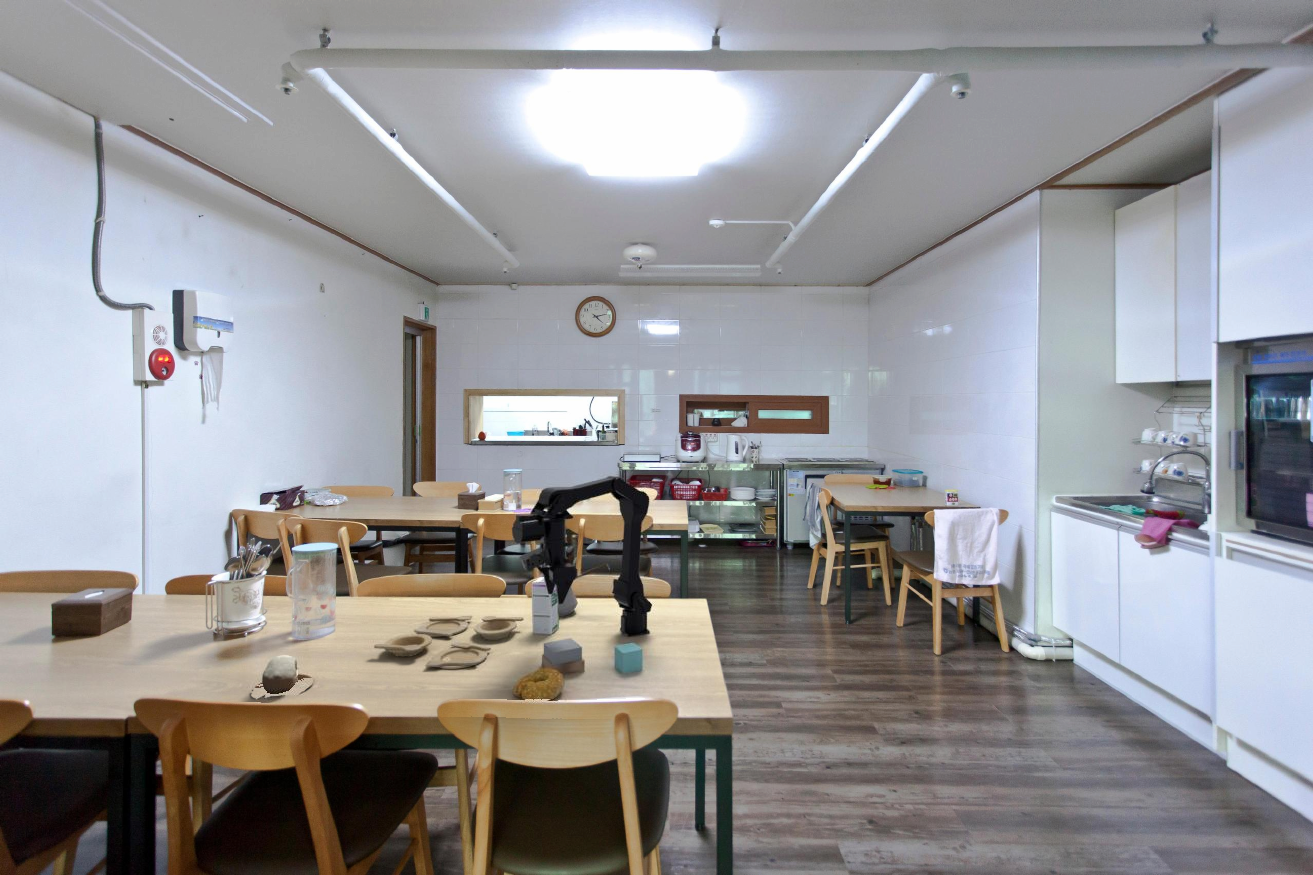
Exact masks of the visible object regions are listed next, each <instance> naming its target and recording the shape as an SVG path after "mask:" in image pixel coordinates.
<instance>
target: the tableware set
mask: <svg viewBox="0 0 1313 875" xmlns="http://www.w3.org/2000/svg"><path fill="white" fill-rule="evenodd" d="M472 618H473V615H461V616H452V617H451V616H444V617H443V616H440V617H439V616H431V617H428V621H427V622H425V623H423V624H420V626H419V627H418V628H415V629H413V631H414V633H411V634H410V633H409V634H404V635H398V636H395V637H393V638H390V639H387V640H386V641H385V642H384V643H377V644H374V645H373V647H374V649H379V650H380V649H381V650H382V649H383V650H385V651H387V652H389V653H392V654H393V655H394V656H395V655H397V656H396V657H398V656H408V657H411V656H410V655H413V656H416V655H415V654H417V655H419V654H421V653H422V652H423V650H424V649H425V648H427V647H429V646H430V645H431V644H432V641H433V638H436V637H437V638H439V637H440V638H442V637H453V635H457V634H460V633H463V632H464V631H465V630H467V628H468V627H469V623H468V622H467V621H471V620H472ZM523 621H524V617H523V616H510V617H509V616H505V617H502V616H500V617H498V616H495V615H488V616H487V615H486V616H483V617H482V618H481V621H480V622H478V623H477V624H475V625H474V627H473V631H474V632H475V633H476V634H480V635H481V637H482V638H483V639H485V640H488V641H495V640H496V641H497V640H502V639H505V638H507V637H508V636H509V634H510V633H511V632H513V630H515V629H516V628H517V626H518V623H517V622H523ZM450 646H451V647H452V648H451V647H450V648H447V649H446V648H445V649H444V650H441V651H439V652H437V653H436V654H434V655H433V656H432V658H431V660H428V661H427V662H426V664H425V668H426V667H428V668H430V667H431V668H439V669H443V670H444V669H445V670H458V669H465V668H468V667H473V666H476V665H478V664H480V663H482V662H483V661H484V660H486V659H487V657H488V652H489V651H491V646H487V645H481V644H475V643H470V642H469V643H468V642H462V641H452V642H451V643H450ZM420 652H421V653H420ZM418 653H419V654H418ZM449 656H450V657H449ZM446 657H449V658H450V659H451V660H450V661H447V660H445V661H443V659H444V658H446Z"/></svg>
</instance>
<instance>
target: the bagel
mask: <svg viewBox="0 0 1313 875" xmlns="http://www.w3.org/2000/svg"><path fill="white" fill-rule="evenodd" d="M563 676H564V675H562V674H561V673H559V672H558V671H557V670H554V669H551V668H544V667H543V668H539V669H537V670H536V671H534V672H532V673H528V674H525V675H523V677H521V678H520V679H519V680H517V682H516V684H515V686H514V687H513V690H512V692H513V694H514V696H516V697H518V698H520V699H522V700H523V699H533V700H534V699H541V700H542V699H552V700H554V699H555V698H556V697H558V696H559V694H561V692H562V691H563V690H564V687H565V681H564V680H565V679H564V677H563Z"/></svg>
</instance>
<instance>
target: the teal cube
mask: <svg viewBox="0 0 1313 875" xmlns="http://www.w3.org/2000/svg"><path fill="white" fill-rule="evenodd" d="M614 667H615V668H616V669H617V670H618V671H619V672H620V673H621V674H622V675H624V674H629V673H630V674H631V673H633V672H638V671H643V649H642V648H641V647H639V645H637V644H636V643H634V642H630V643H625V644H619V645H614Z"/></svg>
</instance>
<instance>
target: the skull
mask: <svg viewBox="0 0 1313 875" xmlns="http://www.w3.org/2000/svg"><path fill="white" fill-rule="evenodd" d="M303 678H313V677H311V676H310V675H308V674H302V673H299V665H298V661H297V659H296V658H295V657H294V656H291V655H287V654H281V655H277V656H275V657H272V659H271V660H270V661H269V662H268V663H267V666H266V668H265V669H264V671H263V672H262V677H261V683H258V684H257V685H260V684H263V686H260V687H259V686H257V685H255V686H254V687H255V688H261V687H264V689H265V690H266V691H267V693H270V694H279V693H283V692H286V691H289V690H290V689H291V688H292V687H293V686H294V685H295V683H296V682H298V680H301V679H303ZM303 680H304V679H303ZM301 681H302V680H301Z"/></svg>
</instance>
